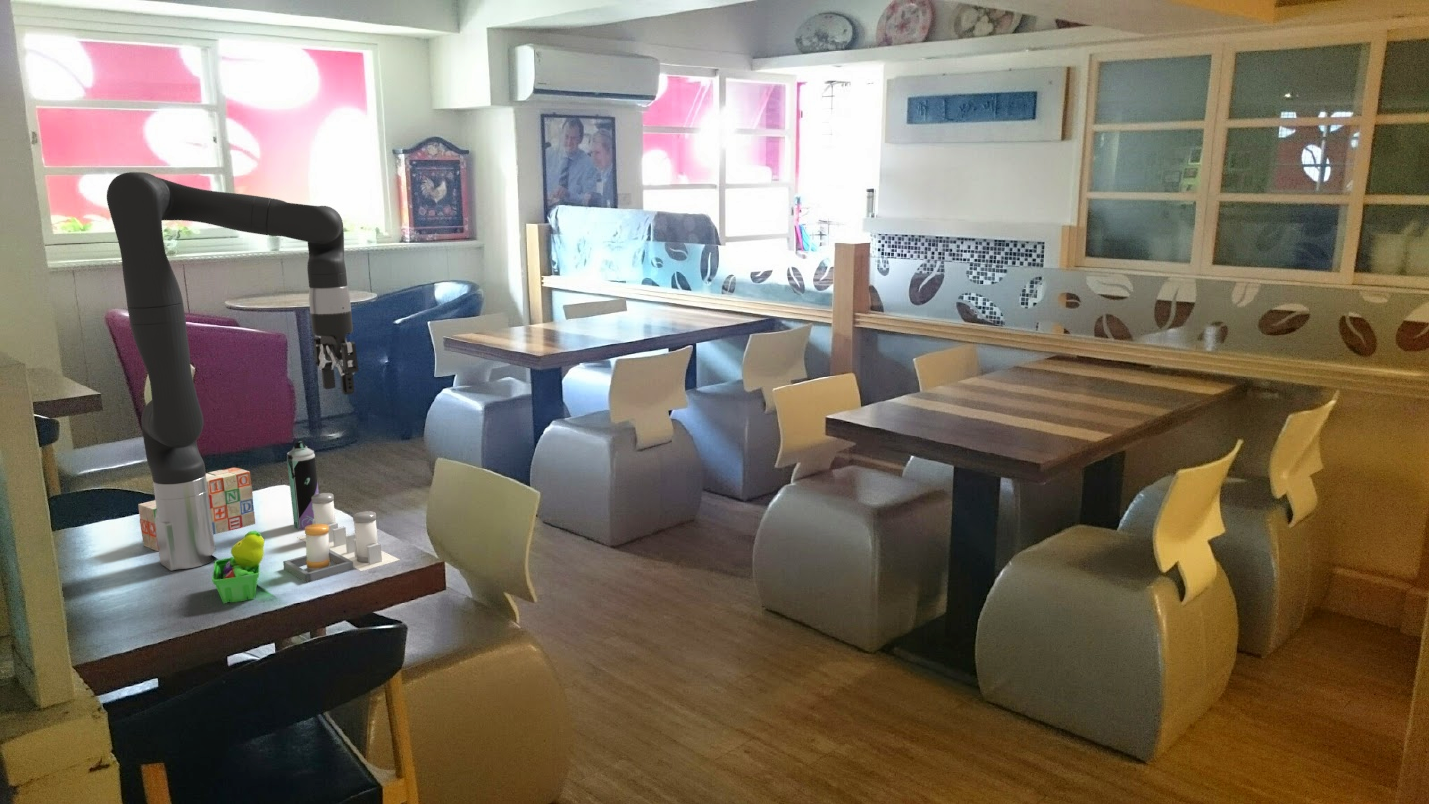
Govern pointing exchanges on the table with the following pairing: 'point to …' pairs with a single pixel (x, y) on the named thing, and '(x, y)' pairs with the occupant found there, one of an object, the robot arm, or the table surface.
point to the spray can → (302, 483)
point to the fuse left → (323, 508)
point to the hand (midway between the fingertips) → (338, 391)
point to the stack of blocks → (212, 505)
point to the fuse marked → (317, 547)
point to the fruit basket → (240, 569)
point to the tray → (341, 567)
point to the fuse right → (364, 533)
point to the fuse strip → (354, 548)
